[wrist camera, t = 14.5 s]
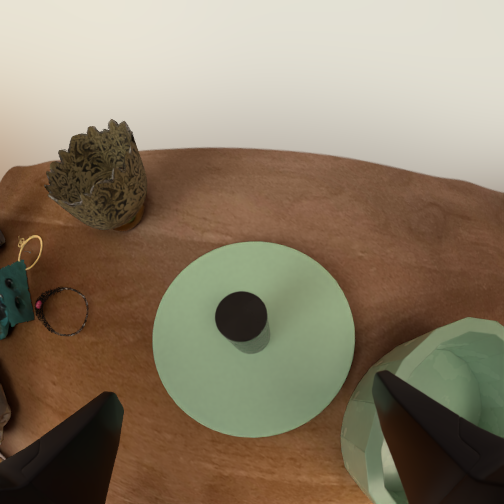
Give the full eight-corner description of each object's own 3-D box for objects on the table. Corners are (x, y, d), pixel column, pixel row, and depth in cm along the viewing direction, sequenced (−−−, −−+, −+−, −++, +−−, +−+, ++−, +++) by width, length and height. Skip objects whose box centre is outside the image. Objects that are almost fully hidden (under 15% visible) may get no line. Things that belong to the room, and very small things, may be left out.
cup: (85, 256, 22) (29, 205, 15) (105, 188, 26) (65, 132, 18) (160, 253, 22) (112, 190, 15) (173, 179, 25) (143, 110, 18)
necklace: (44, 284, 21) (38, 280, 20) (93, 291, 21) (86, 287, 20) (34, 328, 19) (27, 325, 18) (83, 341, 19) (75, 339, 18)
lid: (367, 411, 15) (405, 419, 10) (169, 440, 15) (125, 457, 10) (325, 234, 21) (338, 182, 16) (155, 264, 21) (119, 222, 16)
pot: (462, 490, 11) (506, 506, 5) (318, 496, 13) (333, 535, 8) (492, 345, 16) (540, 326, 10) (361, 328, 18) (392, 303, 13)
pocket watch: (50, 246, 24) (47, 244, 23) (30, 278, 22) (27, 276, 22) (28, 225, 25) (25, 223, 25) (10, 253, 24) (8, 251, 24)
